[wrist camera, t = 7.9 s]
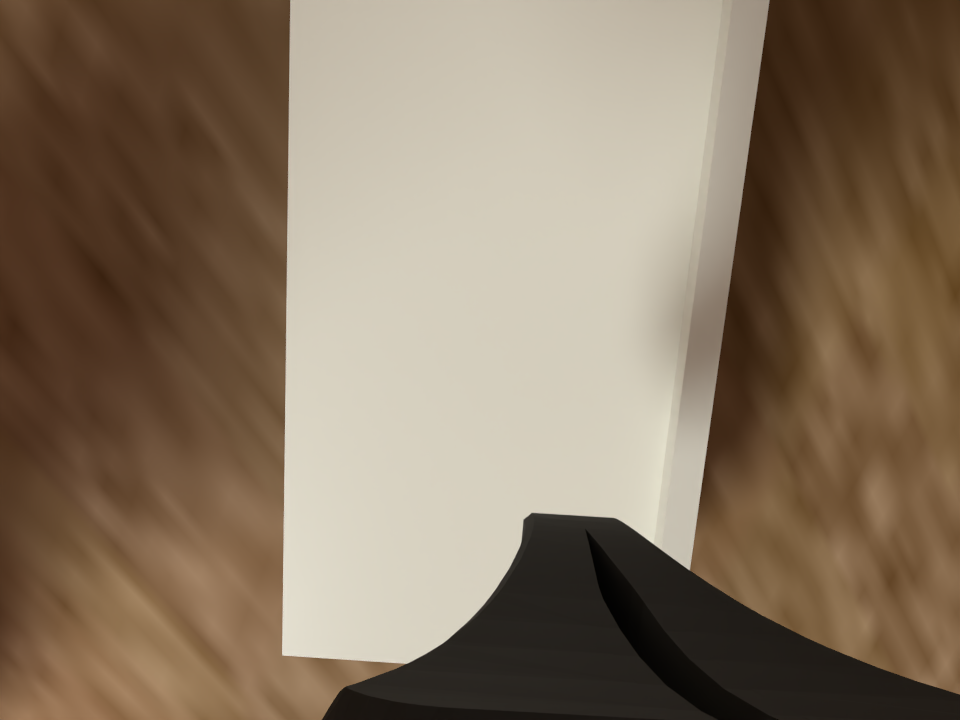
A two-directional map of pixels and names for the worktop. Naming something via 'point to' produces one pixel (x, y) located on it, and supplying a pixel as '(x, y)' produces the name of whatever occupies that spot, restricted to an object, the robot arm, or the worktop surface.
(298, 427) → the panel
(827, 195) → the worktop surface
